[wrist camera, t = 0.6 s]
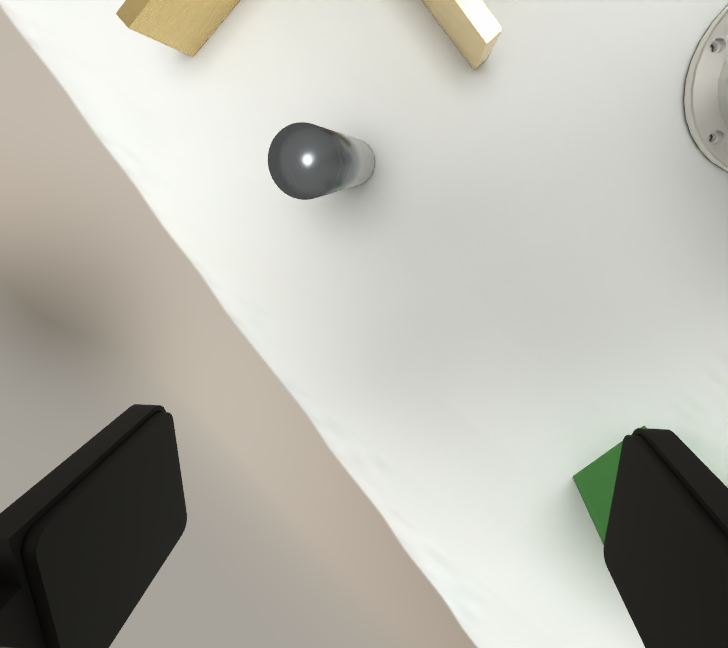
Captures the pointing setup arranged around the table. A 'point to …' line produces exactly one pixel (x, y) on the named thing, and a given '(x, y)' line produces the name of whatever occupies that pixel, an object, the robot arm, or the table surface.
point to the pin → (317, 161)
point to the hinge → (213, 3)
